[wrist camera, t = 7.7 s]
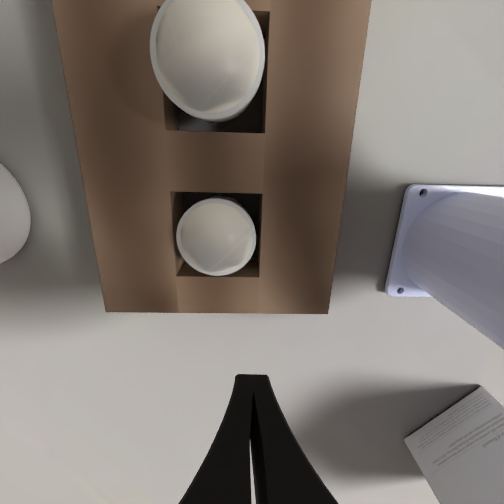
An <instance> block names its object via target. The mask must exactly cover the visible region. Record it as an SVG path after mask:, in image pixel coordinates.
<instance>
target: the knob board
mask: <svg viewBox="0 0 504 504" xmlns="http://www.w3.org/2000/svg"><path fill="white" fill-rule="evenodd" d="M51 1H52V7H53V13H54V19H55V24H56V30H57V36H58V41H59V47H60V53H61V59H62V64H63V70H64V76H65V81H66V87H67V93H68V98H69V104H70V110H71V116H72V121H73V127H74V133H75V138H76V144H77V150H78V156H79V161H80V167H81V173H82V178H83V184H84V190H85V196H86V201H87V207H88V213H89V218H90V224H91V230H92V236H93V241H94V247H95V253H96V258H97V264H98V270H99V276H100V281H101V287H102V293H103V298H104V304H105V310H106V312H159V313H272V314H328V310H329V303H330V296H331V288H332V281H333V274H334V267H335V260H336V252H337V245H338V238H339V231H340V224H341V216H342V209H343V202H344V195H345V188H346V180H347V173H348V166H349V159H350V152H351V144H352V137H353V130H354V123H355V116H356V108H357V101H358V94H359V87H360V80H361V72H362V65H363V58H364V51H365V44H366V36H367V29H368V22H369V15H370V8H371V0H244V1H245V2H246V3H247V5H248V6H249V7H250V9H251V10H252V12H253V13H254V15H255V17H256V19H257V21H258V23H259V26H260V28H261V31H262V35H263V39H265V62H264V82H263V110H262V133H233V132H202V131H179V123H178V106H177V105H176V104H174V103H173V102H172V101H171V100H170V99H169V97H168V96H167V95H166V94H165V92H164V91H163V89H162V88H161V86H160V84H159V82H158V80H157V78H156V76H155V73H154V70H153V66H152V62H151V56H150V35H151V30H152V25H153V22H154V19H155V17H156V15H157V13H158V11H159V9H160V7H161V6H162V4H163V3H164V2H165V1H166V0H51ZM182 192H216V193H258V194H259V222H258V250H257V260H249V261H248V262H247V263H246V264H245V265H244V266H243V267H242V268H241V269H239V270H237V271H236V272H233V273H231V274H228V275H222V276H214V275H208V274H204V273H202V272H199V271H197V270H196V269H194V268H193V267H191V266H190V265H189V264H188V263H187V262H186V261H185V260H184V258H183V257H182V255H181V253H180V251H179V249H178V245H177V239H176V233H177V227H178V224H179V222H180V219H181V218H182V216H183V215H184V210H183V193H182Z"/></svg>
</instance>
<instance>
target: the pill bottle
mask: <svg viewBox="0 0 504 504" xmlns="http://www.w3.org/2000/svg"><path fill="white" fill-rule="evenodd" d="M30 226H31V216H30V209H29V205H28V202H27V199H26V197H25V194H24V192H23V190H22V188H21V187H20V185H19V184H18V182H17V181H16V179H15V178H14V177H13V175H12V174H11V173H10V172H9V171H8V170H7V169H6V168H5V167H4V166H3V165H2V164H1V163H0V264H1V263H2V262H4V261H6V260H8V259H10V258H11V257H13V256H14V255H15V254H16V253H18V252H19V250H20V249H21V248H22V247H23V245H24V244H25V242H26V240H27V238H28V235H29V232H30Z"/></svg>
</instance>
